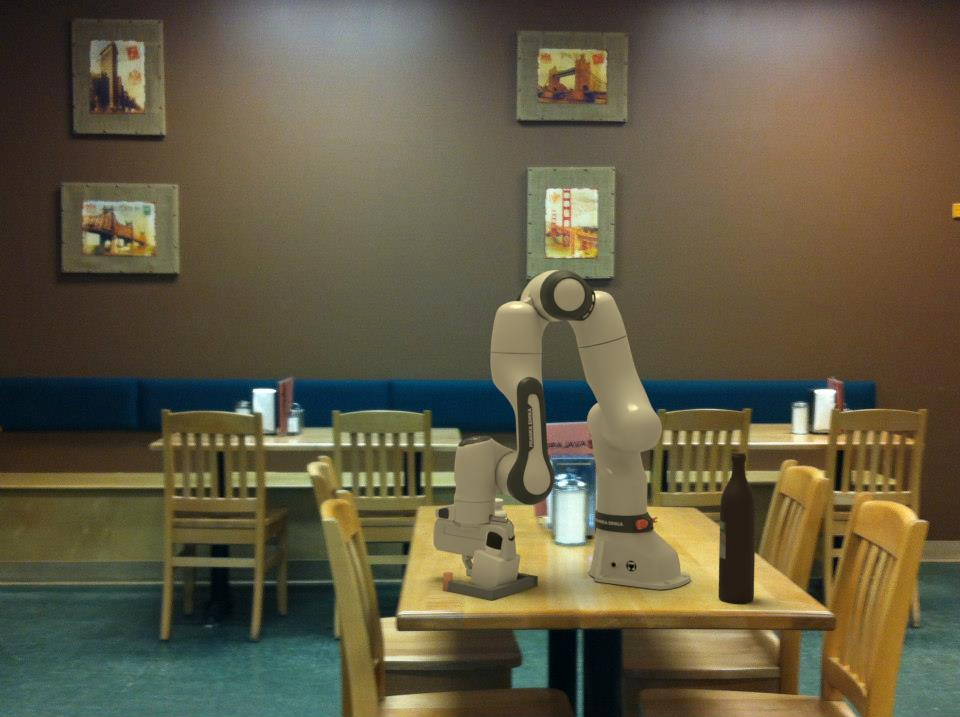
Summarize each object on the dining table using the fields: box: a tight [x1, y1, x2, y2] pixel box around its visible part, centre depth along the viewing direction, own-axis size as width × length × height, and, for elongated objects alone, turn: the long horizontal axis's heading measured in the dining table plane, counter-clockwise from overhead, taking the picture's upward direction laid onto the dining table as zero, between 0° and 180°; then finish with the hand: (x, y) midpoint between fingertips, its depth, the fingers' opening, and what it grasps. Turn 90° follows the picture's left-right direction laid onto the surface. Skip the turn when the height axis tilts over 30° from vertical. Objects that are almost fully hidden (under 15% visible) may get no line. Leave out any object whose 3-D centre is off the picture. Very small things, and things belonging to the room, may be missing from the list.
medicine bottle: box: [469, 531, 521, 588], centre depth 228 cm, size 7×7×12 cm
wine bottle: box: [718, 452, 757, 604], centre depth 220 cm, size 7×7×30 cm
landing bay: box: [442, 571, 539, 601], centre depth 229 cm, size 13×16×4 cm
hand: (473, 576), depth 232 cm, fingers closed
